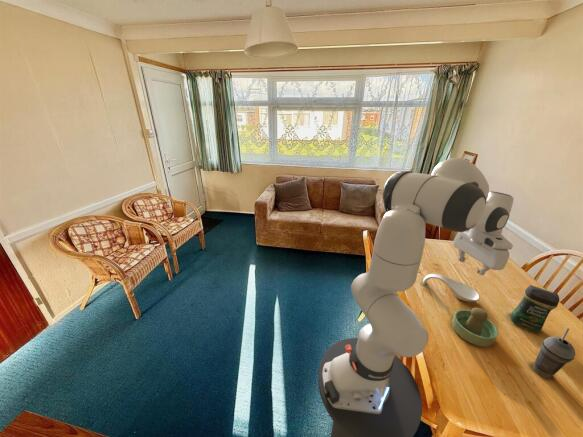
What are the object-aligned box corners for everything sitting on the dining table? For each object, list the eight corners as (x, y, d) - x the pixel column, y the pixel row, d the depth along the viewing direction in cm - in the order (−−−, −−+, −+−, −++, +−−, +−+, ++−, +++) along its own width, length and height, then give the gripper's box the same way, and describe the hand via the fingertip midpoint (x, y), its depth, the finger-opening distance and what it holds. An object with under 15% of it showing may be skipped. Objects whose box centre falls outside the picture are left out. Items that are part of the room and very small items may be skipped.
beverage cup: (535, 378, 78) (565, 338, 69) (522, 358, 84) (548, 319, 76) (562, 385, 76) (596, 344, 67) (547, 364, 82) (576, 325, 74)
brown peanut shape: (459, 327, 95) (468, 308, 91) (467, 322, 98) (476, 303, 93) (475, 339, 91) (485, 319, 86) (483, 333, 93) (493, 313, 88)
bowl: (468, 348, 88) (472, 339, 85) (443, 318, 100) (446, 310, 98) (502, 346, 89) (508, 337, 86) (473, 317, 101) (477, 308, 99)
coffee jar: (509, 323, 98) (528, 290, 90) (509, 312, 104) (527, 280, 96) (541, 336, 92) (564, 302, 85) (539, 324, 98) (560, 291, 90)
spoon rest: (477, 294, 114) (482, 283, 111) (477, 309, 105) (483, 297, 102) (424, 277, 126) (427, 266, 123) (421, 289, 118) (424, 278, 115)
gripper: (455, 224, 94) (444, 254, 99) (500, 246, 75) (484, 282, 79) (469, 225, 95) (458, 254, 99) (518, 247, 75) (501, 283, 80)
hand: (470, 267), depth 89 cm, fingers open, 8 cm apart
